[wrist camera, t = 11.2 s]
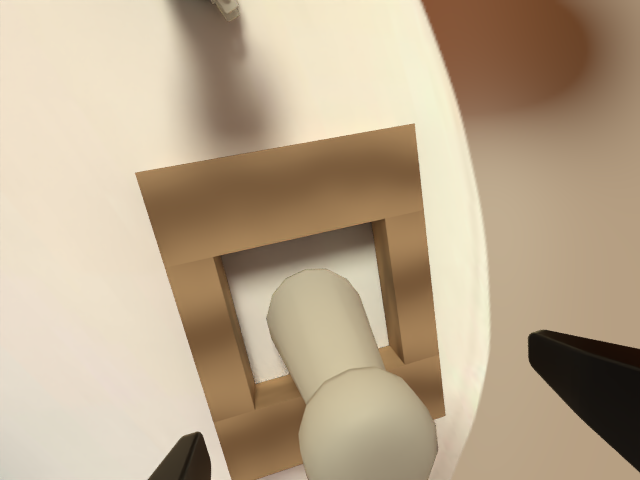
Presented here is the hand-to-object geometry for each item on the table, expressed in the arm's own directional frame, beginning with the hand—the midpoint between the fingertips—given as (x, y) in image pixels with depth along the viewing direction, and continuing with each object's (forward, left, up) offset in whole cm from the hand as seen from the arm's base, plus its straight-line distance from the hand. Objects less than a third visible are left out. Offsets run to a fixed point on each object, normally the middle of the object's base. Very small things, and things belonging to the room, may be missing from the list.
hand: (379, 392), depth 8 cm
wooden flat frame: (-3, 0, -13) cm, 13 cm away
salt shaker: (-3, 0, -13) cm, 14 cm away
